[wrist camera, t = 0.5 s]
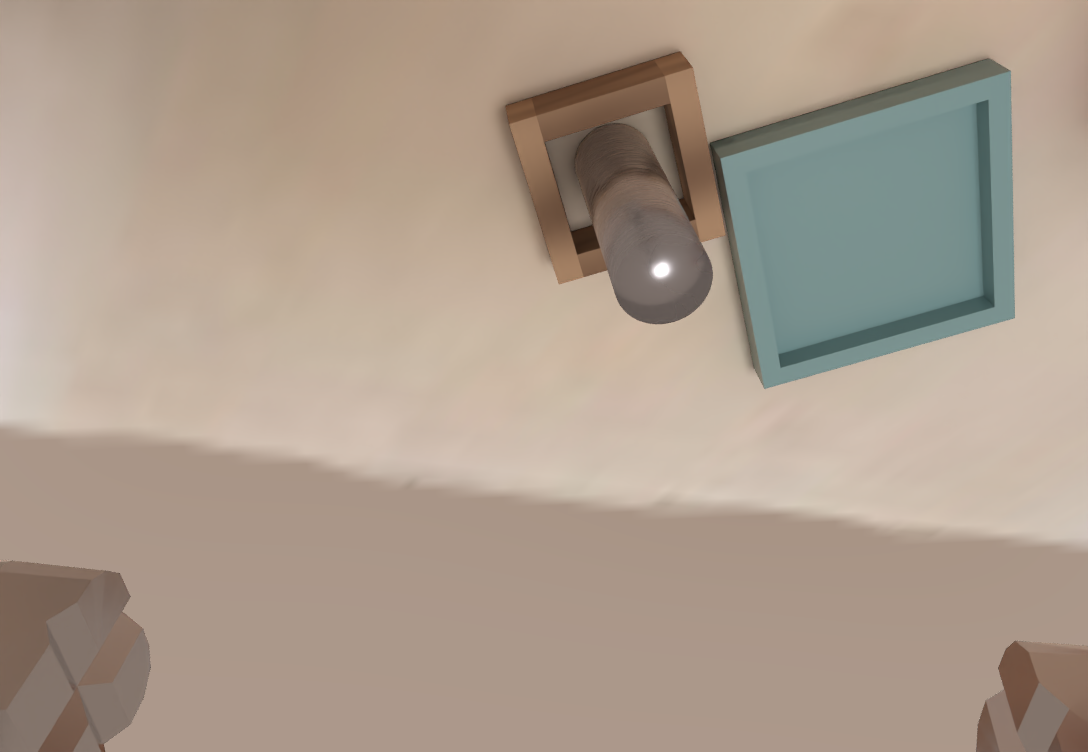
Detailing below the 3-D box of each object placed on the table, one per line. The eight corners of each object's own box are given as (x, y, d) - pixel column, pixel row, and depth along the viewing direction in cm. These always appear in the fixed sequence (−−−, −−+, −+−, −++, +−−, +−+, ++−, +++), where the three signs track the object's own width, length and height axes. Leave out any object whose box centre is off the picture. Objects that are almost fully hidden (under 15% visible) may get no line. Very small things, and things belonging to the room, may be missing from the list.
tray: (710, 143, 46) (720, 158, 44) (989, 58, 45) (1010, 70, 43) (754, 368, 53) (764, 388, 51) (996, 299, 52) (1014, 318, 50)
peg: (566, 137, 45) (603, 252, 35) (642, 113, 45) (702, 222, 35) (585, 207, 47) (626, 335, 37) (659, 185, 47) (720, 308, 37)
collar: (505, 105, 44) (509, 124, 42) (680, 51, 43) (692, 67, 41) (553, 260, 48) (558, 284, 46) (713, 213, 48) (725, 235, 46)
